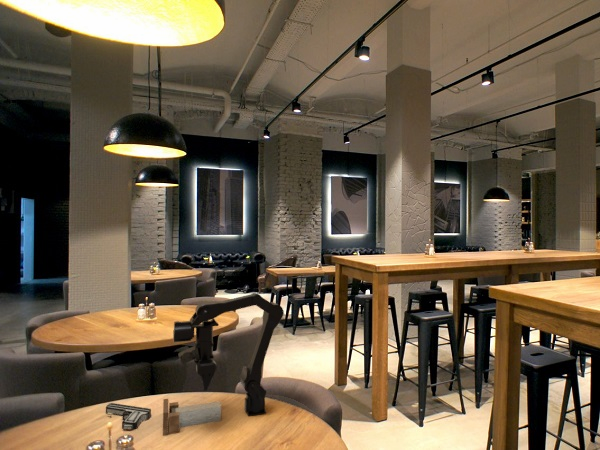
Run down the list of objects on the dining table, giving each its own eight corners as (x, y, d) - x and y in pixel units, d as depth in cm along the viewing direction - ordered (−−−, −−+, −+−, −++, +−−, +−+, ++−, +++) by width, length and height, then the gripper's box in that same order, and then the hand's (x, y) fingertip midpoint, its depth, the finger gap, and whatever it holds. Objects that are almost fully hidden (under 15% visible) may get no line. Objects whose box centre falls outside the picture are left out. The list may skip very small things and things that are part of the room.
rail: (219, 415, 131) (219, 401, 131) (221, 421, 127) (221, 405, 127) (171, 423, 126) (171, 407, 126) (171, 429, 122) (171, 413, 122)
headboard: (178, 417, 130) (178, 397, 130) (179, 432, 119) (179, 410, 120) (163, 419, 128) (163, 399, 128) (162, 435, 118) (163, 413, 118)
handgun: (131, 424, 120) (155, 408, 131) (84, 416, 125) (111, 401, 136) (131, 434, 119) (155, 416, 131) (84, 426, 125) (111, 410, 136)
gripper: (179, 335, 135) (178, 378, 134) (181, 349, 117) (180, 399, 117) (210, 332, 139) (210, 374, 138) (216, 345, 121) (216, 394, 120)
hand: (204, 385), depth 128 cm, fingers open, 9 cm apart
